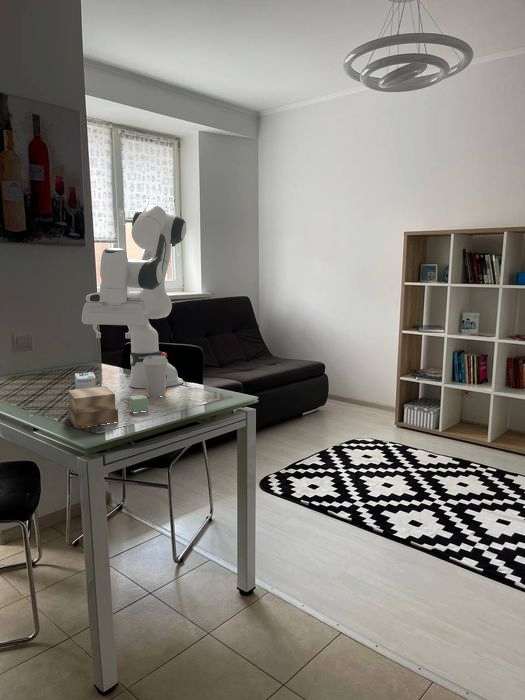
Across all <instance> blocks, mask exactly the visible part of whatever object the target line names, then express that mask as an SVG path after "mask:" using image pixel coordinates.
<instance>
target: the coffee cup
mask: <svg viewBox="0 0 525 700" xmlns="http://www.w3.org/2000/svg"><path fill="white" fill-rule="evenodd" d="M167 363H169V361H168V359H167V356H166V357H165V356H147V357H145V358H144V360H143V364H144V369H145V377H146V385H147V388H146V392H147V398H148V397H149V398H152V397H158V398H161V397H160V396H163V397H165V396H166V387H165V386H166V369H167ZM164 395H165V396H164Z"/></svg>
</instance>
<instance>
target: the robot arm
mask: <svg viewBox="0 0 525 700" xmlns="http://www.w3.org/2000/svg"><path fill="white" fill-rule="evenodd" d="M131 226H132V227H131V232H130V233H131V237H132V240H133V242H134V243H135V245H137V247H139V248H140V249H142V250H144V252H143V255H142V258H141V259H129V258H128V255H127V251H126V249H124V248H121V247H120V248H119V247H112V248H105V249H104V250H103V251H102V253H101V258H100V266H99V267H100V269H99V270H100V271H99V275H100V278H101V279H100V281H101V282H100V286H99V291H98V292H97V291H96V292H93V293H90V294H87V295H85V301H86V302H85V303H84V304H83V307H82V312H81V322H82V324H83V325H92V329H93V330H94V333H95V338H96V339H101V337H102V336H101V335H102V333H101V332H99V331H98V325H103V326H105V325H107V326H108V325H111V326H127V328H128V332H125V334H124V335H125V336H124V337H125V339H127V340H128V339H129V340H130V346H131V347H130V349H131V350H130V351H131V352H130V366H131V370H130V377H129V382H128V386H129V387H130V388H136V389H147V385H146V377H145V369H144V364H143V360H144V358H145V357H147V356H165V357H166V358H167V357H168V354H167V352H165V351H164V352H163V351H160V350H159V333H158V331H157V330H156V329H155V328H154V327H153V326H152V325H151V323H150V320H149V319H151V320H154V319H155V320H158V319H162V318H163V319H164V318H166V317H168V316H169V315H170V313H171V311H172V309H173V304H172V299H171V298H170V296H169V295H168V294H167V292H166V288H165V281H166V276H167V271H168V267H169V263H170V259H171V252H172V248H173V247H175V246H176V245H178V244H180V243H182V241H183V240H184V238H185V237H186V234H187V223H186V221H185V219H184V218H182V217H180V216H175V215H172V214H168V213H166V211H165V210H164V209H163V208H162V207H161V206H159V205H155V204H152V205H148V206H146V207H145V208H144V209H142V210H138V211H136V212H135V213H134V214H133V217H132V220H131ZM128 288H130V289H131V288H132V289H142V291H137V290H135V291H134V290H129V291H128ZM182 383H183V384H184V380H183V378H180V377H179V376H178V371H177V369H176V367H175V366H173V365H172V364H171V363H169V362H168V363H167V369H166V386H165V388H167V387H173V386H178V385H179V386H180V385H182Z"/></svg>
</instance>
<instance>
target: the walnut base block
mask: <svg viewBox="0 0 525 700" xmlns="http://www.w3.org/2000/svg"><path fill="white" fill-rule="evenodd" d="M67 412H68V413H67V414H68V415H67V416H68V420H69V419H70V420H71V421H70V420H69V421H70V423H71V422H72V423H71V424H73V425H74V426H73V425H72V426H73V428H74V427H75V428H82V427H88V426H94V425H101V424H107V423H114V422H118V423H119V409H118V408H117V407H116V406H115V409H113V410H105V411H98V412H91V413H83V414H75V413H74V411H73V410H72V409H71V407H70V406H69V404H67ZM75 428H74V429H75ZM82 429H83V428H82Z"/></svg>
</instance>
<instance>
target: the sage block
mask: <svg viewBox="0 0 525 700" xmlns="http://www.w3.org/2000/svg"><path fill="white" fill-rule="evenodd" d="M128 399H129V400H128V401H129V402H128V403H129V404H128V405H129V406H128V407H129V411H130V410H131V411H132V412H141V411H148V412H149V403H148V402H149V401H148V400H149V399H148V396H146V395H145V394H140V395H131V396H128ZM131 411H130V412H131ZM132 412H131V413H132Z"/></svg>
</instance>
